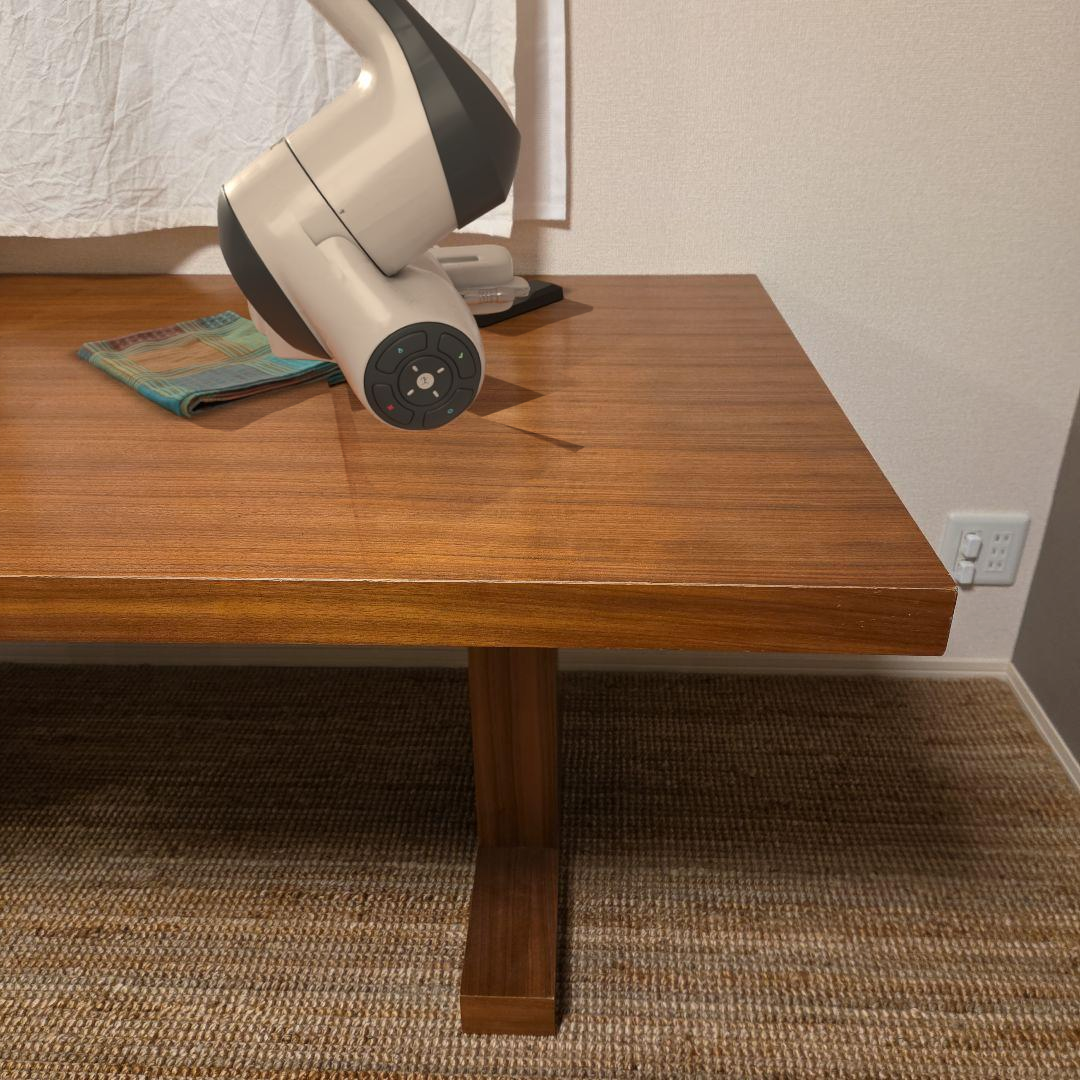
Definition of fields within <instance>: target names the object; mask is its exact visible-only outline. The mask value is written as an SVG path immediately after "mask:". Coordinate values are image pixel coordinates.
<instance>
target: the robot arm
mask: <svg viewBox="0 0 1080 1080" xmlns="http://www.w3.org/2000/svg"><path fill="white" fill-rule="evenodd" d="M305 2H306V3H307V4H308V5H309V6H310V7H311V8H312V9H313V10H314V11H315V12H316V13H317V14H318V15H319V16H320V17H321V18H322V19H323V21H325V23H327V25H329V26H330V28H331V29H332V30H333V31H334V32H335V33H336V34H337V35H338V36H339V37H340V38H341V39H342V41H344V42H345V43H346V45H348V47H349V48H350V49H351V50H352V51H353V52H354V53H355V54H356V55H357V57H358V58H359V62H360V65H361V66H360V73H359V75H358V77H357V79H356V81H354V83H353V84H352V85H351V86H350V87H348V88H347V90H345V91H344V92H342V93H341V94H340V95H339V96H338V97H336V98H335V99H334V100H332V101H331V102H330V103H328V104H327V105H326V106H325V107H323V108H322V109H321V110H319V111H318V112H316V113H315V114H313V116H312V117H310V119H308V120H306V122H304V123H302V125H300V126H299V127H297V128H296V129H295V130H294V131H292V132H291V133H290V134H289V135H287V136H286V137H284V136H283V137H282V138H280V139H279V140H278V141H276V142H275V143H274V144H273V145H272V146H270V147H269V148H268V149H266V150H265V151H263V152H262V153H261V154H260V155H258V156H256V158H255V159H253V160H252V161H251V162H250V163H249V164H247V165H245V167H244V168H242V169H241V170H240V171H238V172H237V173H235V175H234V176H232V177H231V178H230V179H229V180H227V182H226V183H225V184H222V185H221V188H220V190H219V194H218V199H217V206H216V207H217V211H216V214H217V215H216V220H217V234H218V244H219V247H220V251H221V254H222V256H223V259H224V262H225V265H226V266H227V268H228V271H229V272H230V274H231V276H232V278H233V280H234V281H235V283H236V284H237V287H238V288H239V289H240V291H241V292H242V294H243V295H244V297H245V298H246V301H247V307H248V313H249V316H250V320H251V321H253V323H254V325H255V327H256V329H257V330H258V331H259V332H260V333H261V334H263V335H264V336H266V337H268V339H269V343H270V346H271V350H272V353H273V355H274V356H276V357H278V358H284V359H298V360H314V361H327V362H333V363H337V364H338V365H339V367H340V369H341V371H342V372H343V374H344V376H345V378H346V379H347V381H346V382H347V383H348V385H349V386H350V388H351V390H352V391H353V393H354V394H355V396H356V397H357V399H358V400H359V401H360V403H361V404H362V406H363V407H364V408H365V409H366V410H367V411H368V413H370V414H371V415H372V417H373V418H375V419H376V420H377V421H379V422H380V423H382V424H383V425H385V426H387V427H390V428H392V429H395V430H399V431H402V432H414V433H415V432H417V433H418V432H427V431H433V430H436V429H440V428H441V427H444V426H446V425H448V424H449V423H453V421H455V420H456V419H458V418H459V417H460V416H462V415H463V414H464V413H465V412H466V411H467V410H468V409H469V408H470V407H471V406H472V405H473V403H474V402H475V400H476V399H477V397H478V395H479V393H480V391H481V389H482V387H483V384H484V380H485V375H486V366H487V363H486V362H487V361H486V351H485V345H484V342H483V337H482V335H481V332H480V329H479V328H480V327H478V326H477V323H476V321H475V318H474V316H473V315H475V314H488V313H496V312H502V311H505V310H507V309H509V308H510V307H511V306H512V304H513V301H514V300H515V297H522V296H527V295H528V294H529V291H530V287H529V284H528V283H527V282H528V281H527V280H526V279H525V278H524V277H521V276H518V275H514V265H513V257H512V255H511V253H510V251H509V250H508V248H507V247H505V246H502V245H500V244H499V245H498V244H478V245H463V246H461V245H460V246H445V247H443V246H442V247H440V246H439V245H438V243H439V242H441V241H442V240H444V239H446V237H447V236H449V235H450V234H452V233H453V232H455V231H456V230H458V231H460V230H462V229H463V228H465V227H467V226H468V225H470V224H471V223H473V222H475V221H476V220H478V219H480V218H481V217H483V216H484V215H485V214H487V213H489V212H490V211H492V210H494V209H496V208H498V207H499V206H501V205H502V204H504V203H505V202H506V201H507V199H508V196H509V195H510V191H511V189H512V186H513V183H514V180H515V176H516V172H517V168H518V164H519V159H520V153H521V145H522V135H521V132H520V130H519V128H518V126H517V123H516V120H515V118H514V115H513V113H512V110H511V109H510V107H509V105H508V103H507V101H506V99H505V98H504V96H503V95H502V93H501V92H500V91H499V89H498V88H497V86H496V85H495V84H494V82H493V81H492V80H491V79H490V78H489V76H488V75H487V74H486V73H485V72H484V71H483V70H482V69H481V68H480V67H479V66H478V65H477V64H476V63H474V61H472V59H470V58H469V57H468V56H466V54H464V53H463V52H462V51H460V50H459V49H458V48H457V47H455V46H454V45H453V44H452V43H451V42H449V41H448V40H447V39H446V38H444V37H443V36H442V35H441V33H439V32H438V30H436V29H435V28H434V27H433V26H432V25H431V23H429V22H428V20H426V18H425V17H424V16H423V15H422V14H421V13H420V12H419V11H418V10H417V9H416V8H415V7H414V6H413V5H412V4H411V3H410V1H409V0H305Z"/></svg>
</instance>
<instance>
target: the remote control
mask: <svg viewBox="0 0 1080 1080" xmlns="http://www.w3.org/2000/svg"><path fill="white" fill-rule="evenodd" d="M527 283H528V284H529V287H530V291H529V294H528V295H527V296H522V297H515V300H514V301H513V304H512V306H511V307H510V308H509V309H507V310H505V311H502V312H496V313H488V314H475V315H473V316H474V318H475V321H476V323H477V326H478V328H480V327H482V328H483V327H488V326H490V325H493V324H495V323H498V322H502V321H504V320H507V319H510V318H512V317H516V316H519V315H521V314H523V313H526V312H529V311H532V310H534V309H537V308H541V307H543V306H546V305H548V304H551V303H554V302H557V301H559V300H563V299H565V298H564V289H563V286H562V285H559V284H555V283H553V282H549V281H544V280H539V279H533V280H529V281H527Z"/></svg>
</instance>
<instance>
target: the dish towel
mask: <svg viewBox="0 0 1080 1080" xmlns="http://www.w3.org/2000/svg"><path fill="white" fill-rule="evenodd" d="M77 357H78V359H80V360H84V361H86V362H87V363H89V364H91V365H92V366H94V367H96V368H97V369H99V370H101V371H103V372H104V373H107V374H108V375H109V376H110V377H112V378H113V379H116V380H117V381H119V382H121V383H122V384H124V385H125V386H127V387H128V388H130V389H131V390H132V391H134V392H136V393H138V394H139V395H140V396H142V397H144V398H145V399H147V400H149V401H151V402H153V403H154V404H156V405H158V406H160V407H162V408H163V409H166V410H169V411H171V412H173V413H174V414H176V415H177V416H178V417H181V416H185V417H187V418H191V417H192V416H195V415H198V414H201V413H204V412H205V413H206V412H208V411H211V410H212V411H213V410H215V409H219V408H222V407H225V406H229V405H232V404H235V403H239V402H242V401H243V402H244V401H245V400H246V401H247V400H250V399H253V398H257V397H260V396H265V395H269V394H272V393H276V392H280V391H284V390H289V389H291V388H295V387H298V386H303V385H307V384H311V383H315V382H319V381H323V380H327V384H328V386H332V385H334V384H338V383H342V382H348V381H347V379H346V378H345V376H344V374H343V372H342V371H341V369H340V367H339V365H338V364H337V363H333V362H327V361H314V360H298V359H284V358H278V357H276V356H274V355H273V353H272V350H271V346H270V343H269V339H268V337H266V336H264V335H263V334H261V333H260V332H259V331H258V330H257V329H256V327H255V325H254V323H253V321H252V319H248V318H245V317H243V316H242V315H239V314H237V313H236V312H234V311H231V310H226V311H222V312H221V313H218V314H214V315H209V316H206V317H202V318H201V317H200V318H195V319H193V320H187V321H181V322H176V323H173V324H170V325H167V326H163V327H159V328H153V329H148V330H140V331H135V332H132V333H127V334H125V335H122V336H117V337H112V338H107V339H103V340H98V341H89V342H84V343H83V344H82V345H81V346H80V348H79V350H78V351H77ZM206 407H210V408H206ZM202 408H206V409H202Z"/></svg>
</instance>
